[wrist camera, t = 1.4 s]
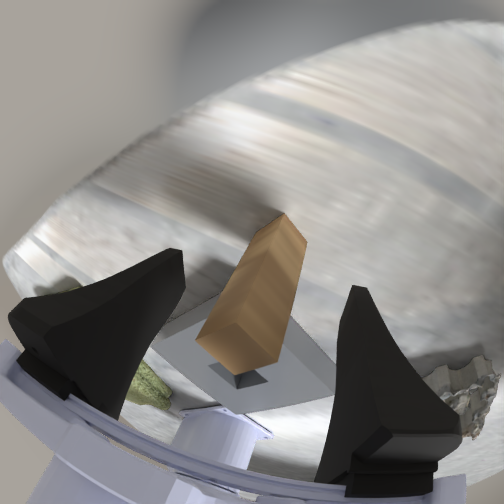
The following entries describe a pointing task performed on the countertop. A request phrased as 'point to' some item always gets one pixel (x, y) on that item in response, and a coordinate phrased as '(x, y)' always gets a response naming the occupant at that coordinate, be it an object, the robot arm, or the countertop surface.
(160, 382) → the washcloth
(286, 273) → the oak peg
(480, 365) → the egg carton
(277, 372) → the charcoal socket block
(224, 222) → the countertop surface
